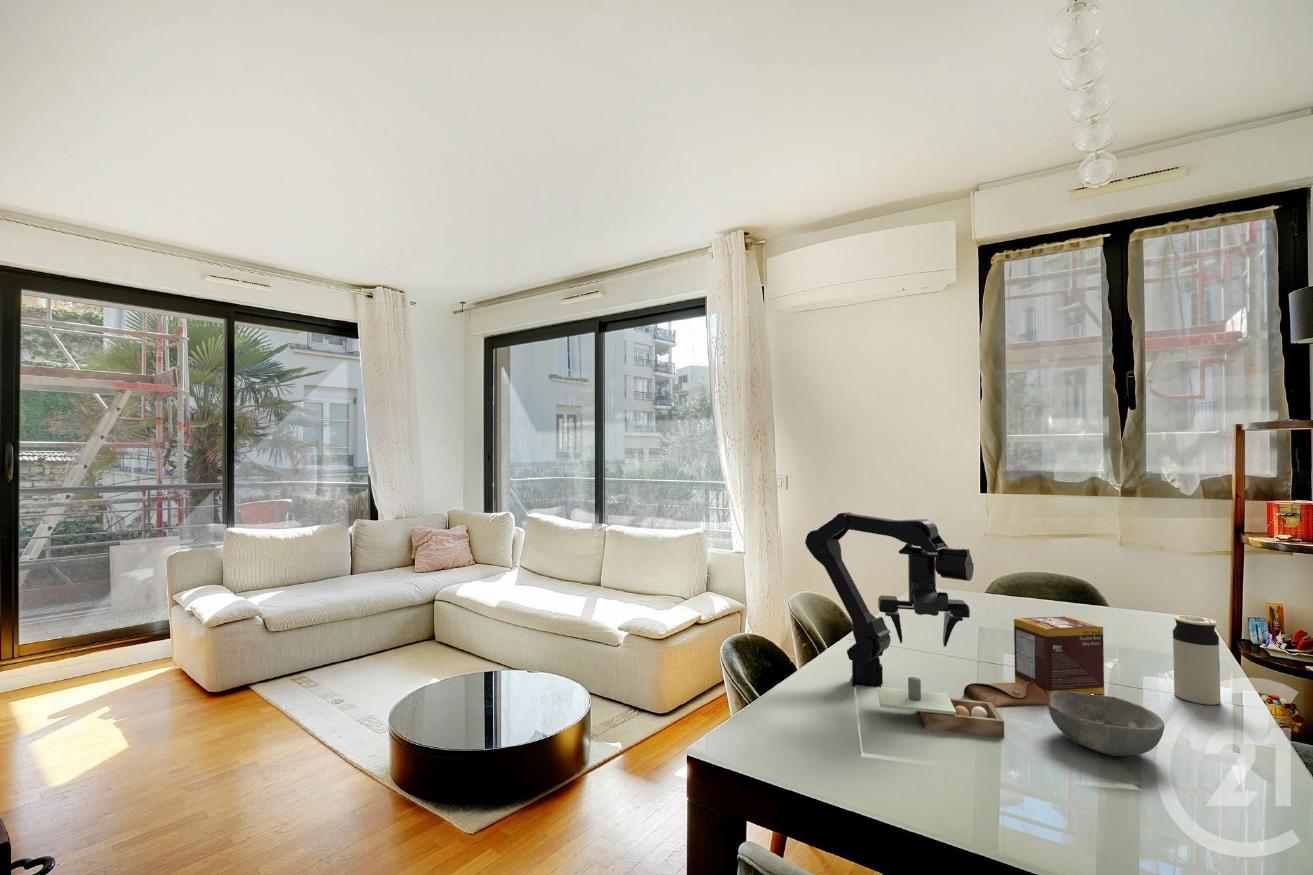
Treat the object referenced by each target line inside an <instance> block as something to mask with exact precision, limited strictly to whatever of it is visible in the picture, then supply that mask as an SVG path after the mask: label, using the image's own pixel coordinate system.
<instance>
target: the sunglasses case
mask: <svg viewBox="0 0 1313 875" xmlns="http://www.w3.org/2000/svg"><path fill="white" fill-rule="evenodd" d="M963 696H965V697H966V698H968V699H969V700H972V701H983V702H991V703H992V704H993V706H994V707H995V709H998V708H1000V709H1001V708H1016V707H1019V708H1020V707H1037V706H1039V707H1042V706H1045V707H1046V706H1047V707H1048V696H1047V695H1046V694H1045V693H1044V692H1043V691H1042V690H1041V689H1040V688H1039V687H1038V686H1037V685H1036V682H1034V681H1031V682H1026V683H1015V682H998V683H996V682H995V683H981V682H979V683H977V682H976V683H969V684H967V685H966V686H965V687H964V689H963Z"/></svg>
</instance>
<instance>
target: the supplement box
mask: <svg viewBox="0 0 1313 875" xmlns="http://www.w3.org/2000/svg"><path fill="white" fill-rule="evenodd" d="M1013 639H1014V640H1013V646H1014V683H1026V682H1031V681H1034V682H1036V685H1037V686H1038V687H1039V688H1040V689H1041V690H1042V691H1043V692H1044V693H1045V694H1046V695H1047V696H1048V697H1049V695H1050V694H1051V693H1052V692H1054V691H1058V692H1059V691H1062V692H1078V693H1085V694H1101V695H1105V668H1104V667H1105V666H1104V665H1105V661H1104V660H1105V659H1104V657H1105V656H1104V626H1100V625H1097V624H1095V623H1090V622H1087V621H1084V620H1082V619H1081V620H1080V619H1078V618H1075V617H1072V616H1068V615H1066V616H1064V615H1063V616H1047V617H1045V616H1043V617H1041V616H1039V617H1021V618H1019V617H1017V618H1014V619H1013Z"/></svg>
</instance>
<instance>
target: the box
mask: <svg viewBox="0 0 1313 875" xmlns="http://www.w3.org/2000/svg"><path fill="white" fill-rule="evenodd" d="M949 698H950V700H951V702H952V704H953V706H954V708H955V707H956V706H964V707H965V708H966V709H967V710H968V712H969V716H965V715H952V714H943V713H933V712H923V711H919V714H920V716H921V720H922V721H923V724H924V727H925V728H924V729H925V730H934V731H941V732H951V733H959V734H960V733H961V734H970V735H977V736H986V737H996V738H1005V721H1004V719H1003V717H1002V716H1001V715H1000V713H999V712H998V710H997V708H995V707H994V706H993V704H992V703H991V702H983V701H974V700H972V699H960V698H959V699H958V698H951V697H949ZM974 707H982V708H984V709H985V710H986V712H987V714H988V718H984V717H975V716H972V715H971V711H972V709H973V708H974Z"/></svg>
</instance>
